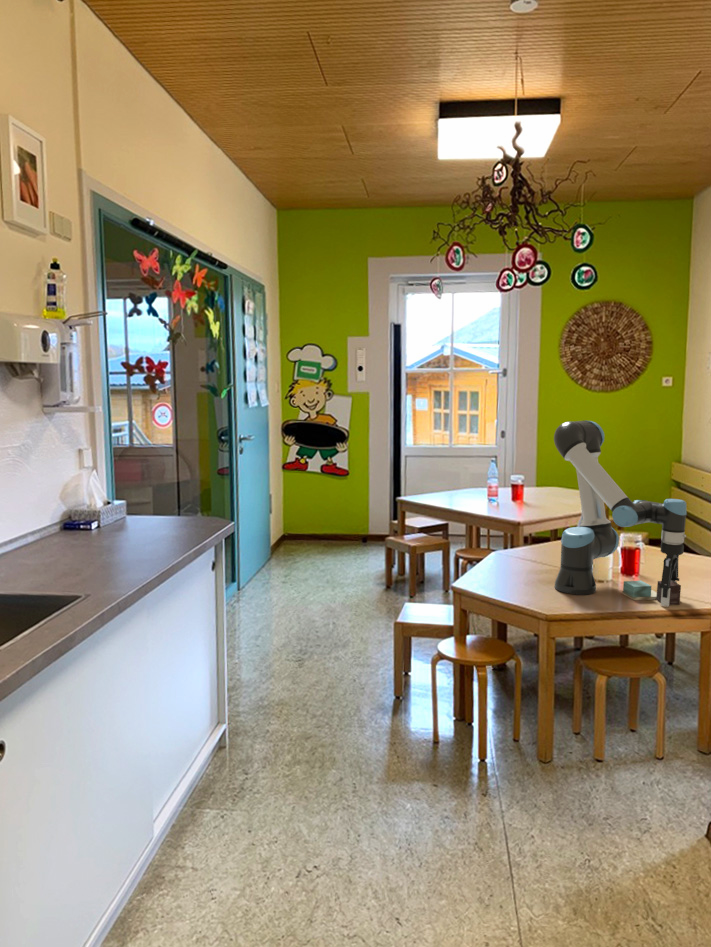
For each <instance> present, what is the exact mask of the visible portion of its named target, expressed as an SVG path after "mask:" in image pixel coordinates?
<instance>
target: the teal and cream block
mask: <svg viewBox="0 0 711 947" xmlns="http://www.w3.org/2000/svg"><path fill="white" fill-rule="evenodd" d="M622 586H623V587H622V589H623V590H622V591H621V594H622V595H624V596H625V597H628V598H629V599H631V600H633V601H644V600H645V601H649V600H656V597H657V591H654V590H653V589H652V585H650V584H649V583H647V582H644V581H643V580H624V581H623V585H622Z"/></svg>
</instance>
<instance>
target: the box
mask: <svg viewBox="0 0 711 947" xmlns="http://www.w3.org/2000/svg"><path fill="white" fill-rule="evenodd" d="M656 584H657V585H656V587H657V588H656V592H657V597H656V599H655V601H657V602H659V603H660V604H661V592H662V588H660V587H659V586H661V580H657V583H656ZM664 585H666V584H664ZM681 590H682V585H681V584H679V583H676V582H674V581H671V583H670V600H669V606H670V605H672V606H673V605H674V606H675V605H676V606H677V605H678V606H679V605H681V604H680V603H681Z"/></svg>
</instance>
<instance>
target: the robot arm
mask: <svg viewBox="0 0 711 947" xmlns="http://www.w3.org/2000/svg"><path fill="white" fill-rule="evenodd" d="M553 441H554V446H555V448H556V449H557V451H558V452H559V454H560V455H561V457H562V458H563V459H564V461H567V462H570V463H571V464H572V465H573V467H574V468H575V472H576V477H577V483H578V485H577V486H578V490H579V498H580V505H581V506H580V507H581V513H582V519H583V520H582V522H581V523H580V524H579V526H573V527H568V528H566V529H565V530H564V531H563V532H562V533H561V534H562V535H561V540H560V542H561V544H560V545H561V549H560V568H559V571H558V574H557V575H556V577H555V581H554V588H555V590H557V591H559V592H561V593H565V594H571V595H577V596H578V595H579V596H580V595H581V596H582V595H591V594H595V592H596V591H597V585H596V581H595V580H596V579H595V577H594V572H593V564H594V563H593V560H596V559H600V558H606V557H608V556H610V555H612V554H613V553H615V551H617V549H618V547H619V543H620V538H619V533H618V532H617V531H616V530H615V528H613V527H612V521H611V520H609V519H608V517H607V516H606V507H605V504H606V506H607V508H609V509H610V510H611V512H612V520H613V522H614V523H615V525H617V526H619V527H621V528H626V527H628V528H629V527H633V526H636V525H642V524H645V523H653V524H658V525H661V538H660V539H661V540H660V541H661V543H660V552H661V553H662V554H665V555H666V557H664V559H663V565H662V566H663V567H662V572H661V573H662V574H661V580H660V581H661V586H659V587H660V588H662V592H661V603H660V606H661V607H668V608H669V607H670V605H669V600H670V583H671V581H674V582H676V583H677V582H680V578H679V559H680V558H679V556H681V555H683V554H684V549H685V545H684V542H685V538H687V535H686V534H685V533H686V521H687V520H686V519H687V514H688V513H687V512H688V511H687V502H686V501H685V500H683V499H678V498H666V499H665V500H664V501H663V503H661V502H655V501H650V500H649V501H648V500H645V499H642V500H641V499H636V500H635V499H634V500H633V501H632V500H631V499H630V498H629V497H628V496H627V495H626V494H625V492H624V491H623V490H622V488H621V487H620V486H619V485H618V484H617V483H616V482H615V481H614V479H613V478H612V477H611V475H610V474H608V472H607V471H606V470H605V469H604V467H603V466H602V465H601V464H600V463H599V456H600V455H601V453H602V449H601V447H602V446H603V443H604V442H605V432H604V430H603V428H602V427H601V426H600V424H598V423H597V422H595V421H592V420H576V421H565V422H563V423H560V425H559V426H558V427H557V428H556V429H555V432H554V435H553ZM664 584H666V585H664ZM677 584H678V583H677Z"/></svg>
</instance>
